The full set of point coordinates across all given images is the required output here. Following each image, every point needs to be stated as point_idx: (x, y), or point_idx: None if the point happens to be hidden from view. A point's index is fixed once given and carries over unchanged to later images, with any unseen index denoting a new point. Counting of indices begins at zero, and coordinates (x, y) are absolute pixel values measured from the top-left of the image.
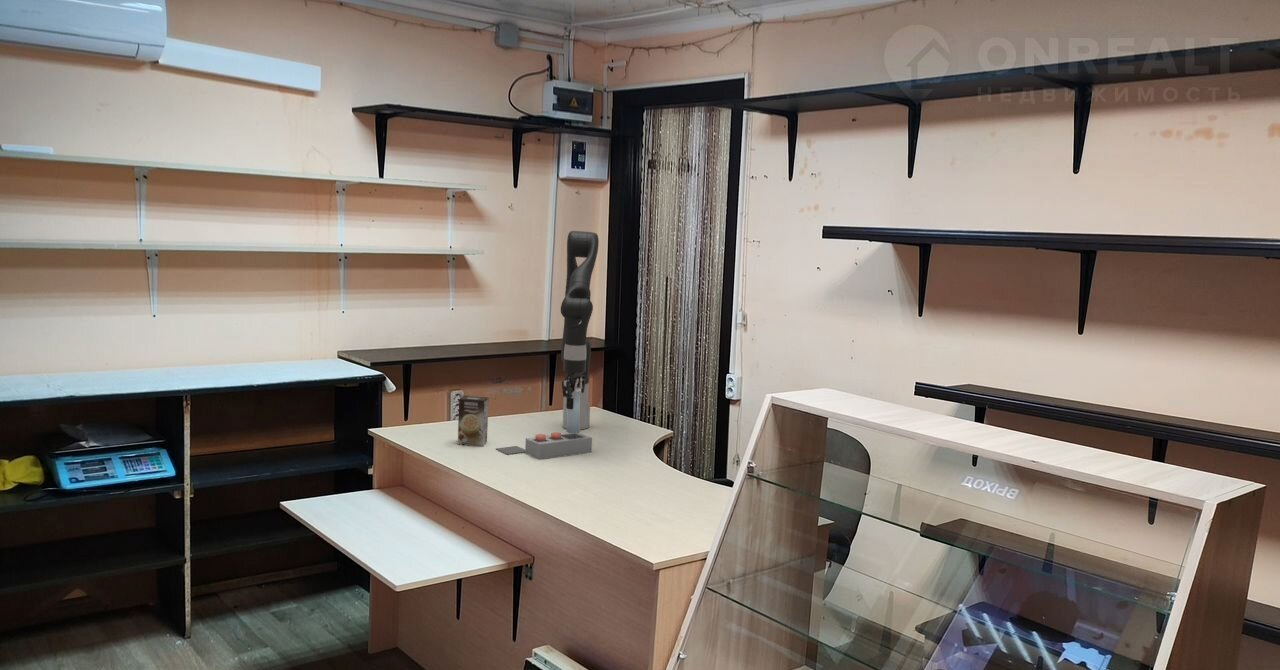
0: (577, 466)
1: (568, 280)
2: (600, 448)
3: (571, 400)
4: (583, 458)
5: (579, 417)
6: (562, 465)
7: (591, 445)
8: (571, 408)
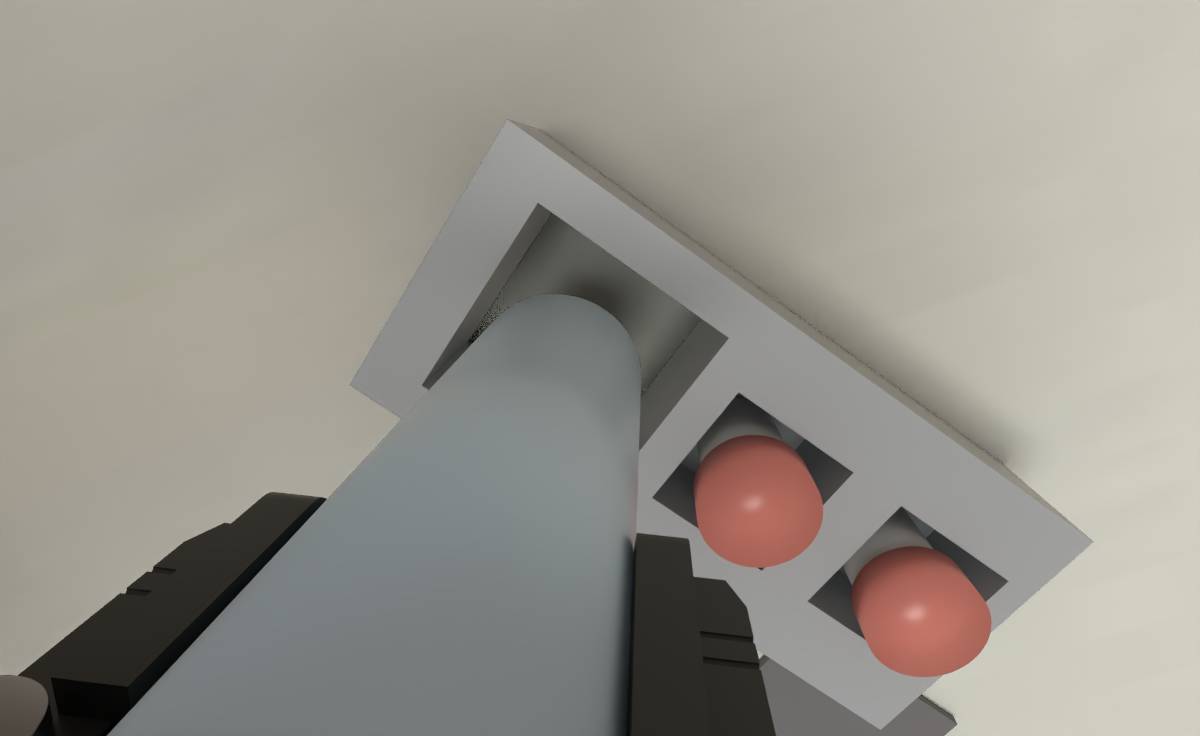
0: (1164, 33)
1: None
2: (355, 103)
3: (699, 732)
4: (814, 107)
5: (502, 352)
6: (1164, 195)
7: (529, 128)
8: (686, 555)
